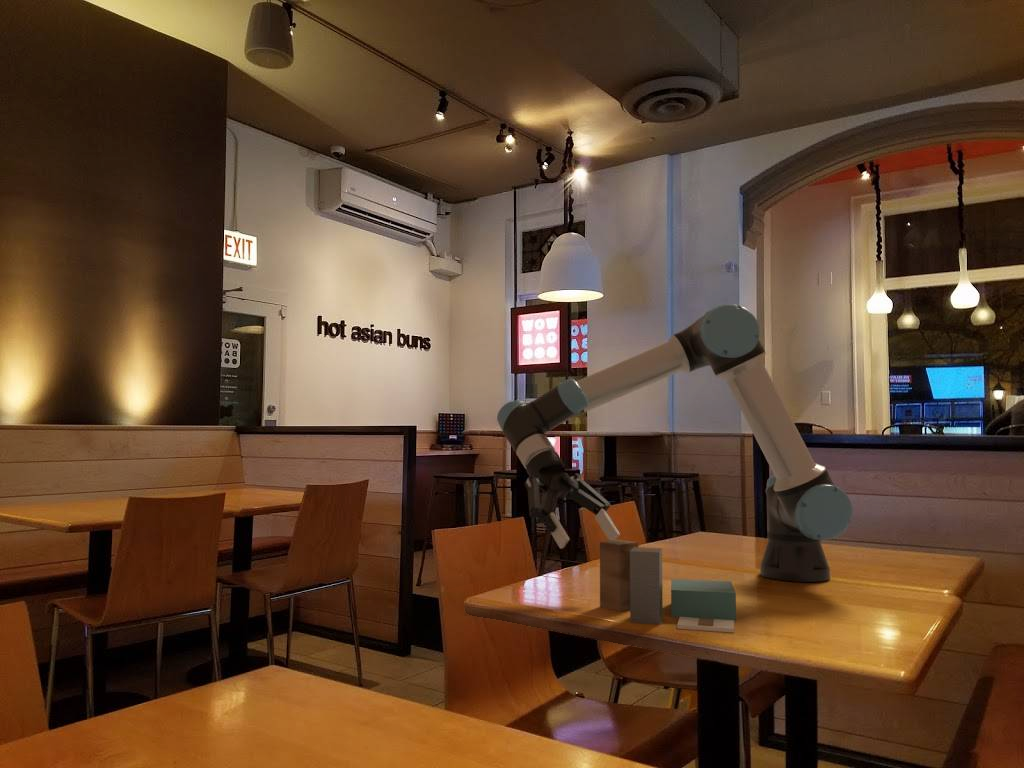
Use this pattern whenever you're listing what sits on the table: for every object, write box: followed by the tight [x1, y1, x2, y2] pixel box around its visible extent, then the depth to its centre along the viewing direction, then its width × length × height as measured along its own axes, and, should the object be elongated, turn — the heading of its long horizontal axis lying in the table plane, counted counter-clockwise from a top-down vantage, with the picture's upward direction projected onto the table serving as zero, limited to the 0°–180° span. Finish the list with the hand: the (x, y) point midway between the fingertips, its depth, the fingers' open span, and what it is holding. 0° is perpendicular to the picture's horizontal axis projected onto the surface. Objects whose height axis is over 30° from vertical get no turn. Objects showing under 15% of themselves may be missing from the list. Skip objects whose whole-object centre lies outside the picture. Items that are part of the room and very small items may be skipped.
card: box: [676, 617, 735, 634], centre depth 126 cm, size 9×6×1 cm, turn 74°
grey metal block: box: [629, 546, 664, 625], centre depth 130 cm, size 5×5×12 cm
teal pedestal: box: [670, 578, 737, 622], centre depth 137 cm, size 11×11×5 cm
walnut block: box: [599, 539, 639, 613], centre depth 140 cm, size 5×5×12 cm
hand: (591, 541), depth 145 cm, fingers open, 13 cm apart
